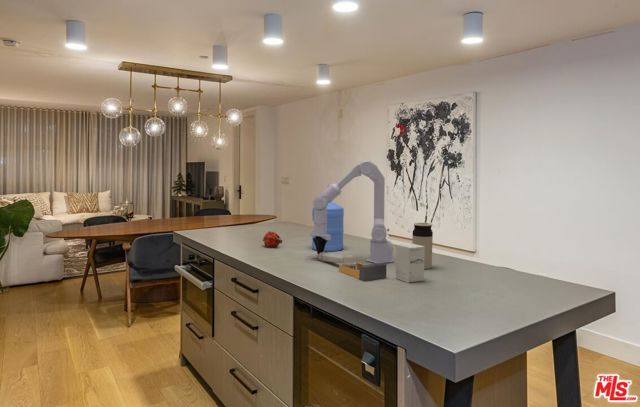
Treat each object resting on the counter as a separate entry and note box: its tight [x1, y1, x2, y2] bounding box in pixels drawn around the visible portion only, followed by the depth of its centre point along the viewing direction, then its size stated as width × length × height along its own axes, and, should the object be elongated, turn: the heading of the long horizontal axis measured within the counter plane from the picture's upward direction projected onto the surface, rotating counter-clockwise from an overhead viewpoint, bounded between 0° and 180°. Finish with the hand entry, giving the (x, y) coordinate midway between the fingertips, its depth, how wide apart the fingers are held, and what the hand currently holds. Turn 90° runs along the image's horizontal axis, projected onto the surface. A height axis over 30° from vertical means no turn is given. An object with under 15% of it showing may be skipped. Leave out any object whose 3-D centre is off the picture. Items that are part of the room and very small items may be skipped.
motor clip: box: [338, 262, 387, 282], centre depth 165 cm, size 10×17×5 cm, turn 30°
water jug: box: [311, 201, 345, 253], centre depth 216 cm, size 16×16×28 cm
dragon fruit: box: [262, 230, 283, 249], centre depth 221 cm, size 8×8×12 cm
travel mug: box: [411, 222, 434, 270], centre depth 177 cm, size 8×8×18 cm
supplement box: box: [395, 243, 425, 284], centre depth 157 cm, size 7×7×13 cm
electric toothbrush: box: [317, 251, 357, 270], centre depth 180 cm, size 5×7×25 cm
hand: (320, 254), depth 192 cm, fingers closed
